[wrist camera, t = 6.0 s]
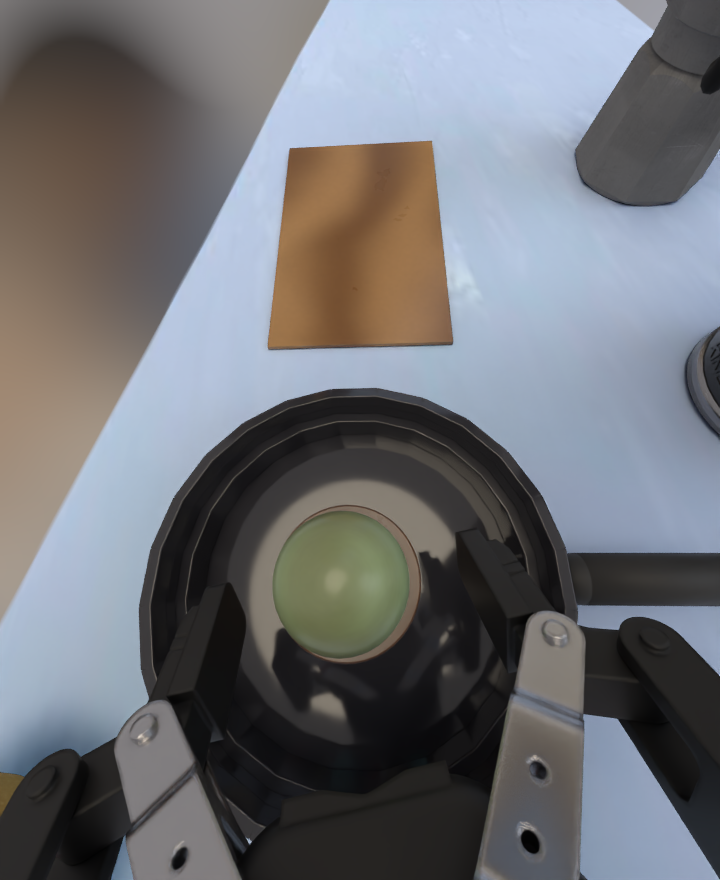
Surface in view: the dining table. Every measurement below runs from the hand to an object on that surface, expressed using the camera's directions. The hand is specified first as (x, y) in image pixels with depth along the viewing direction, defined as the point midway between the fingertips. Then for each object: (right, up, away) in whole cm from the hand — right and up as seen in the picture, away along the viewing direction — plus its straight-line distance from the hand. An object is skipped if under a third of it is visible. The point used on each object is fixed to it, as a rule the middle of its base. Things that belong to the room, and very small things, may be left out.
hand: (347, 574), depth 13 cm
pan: (0, -2, +6) cm, 6 cm away
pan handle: (+13, -1, +3) cm, 13 cm away
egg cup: (0, -2, +5) cm, 5 cm away
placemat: (0, +20, +14) cm, 25 cm away
